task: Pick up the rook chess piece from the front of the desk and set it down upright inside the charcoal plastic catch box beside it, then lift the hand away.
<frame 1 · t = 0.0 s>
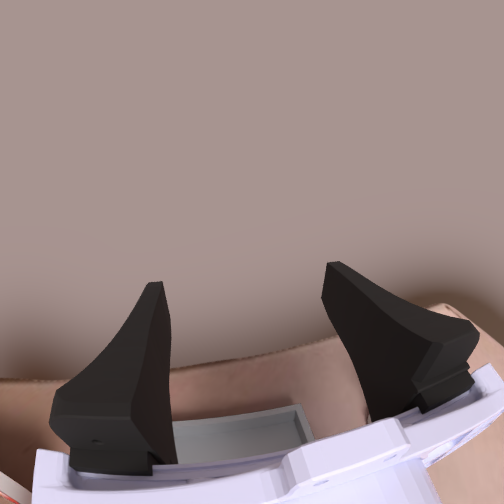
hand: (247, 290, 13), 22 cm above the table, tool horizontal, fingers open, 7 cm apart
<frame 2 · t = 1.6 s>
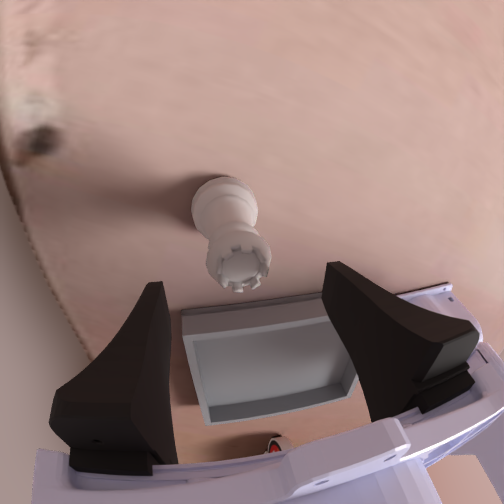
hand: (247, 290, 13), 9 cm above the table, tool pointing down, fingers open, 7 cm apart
sign: (267, 451, 47), on the table
rook chess piece: (222, 204, 21), on the table
catch box: (279, 355, 31), on the table
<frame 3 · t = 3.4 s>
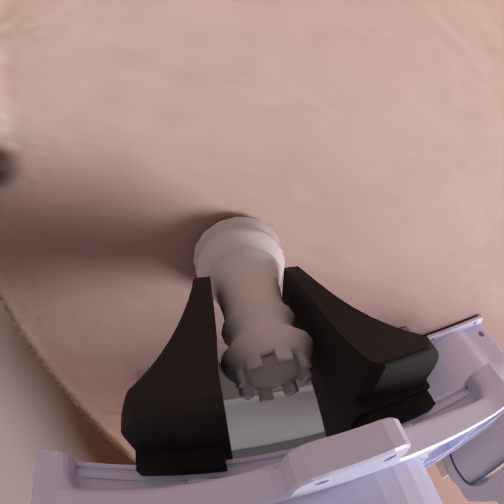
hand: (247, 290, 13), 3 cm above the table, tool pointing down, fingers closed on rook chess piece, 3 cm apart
rook chess piece: (235, 250, 16), on the table, touching gripper
skincare box: (433, 440, 58), on the table
catch box: (296, 403, 26), on the table
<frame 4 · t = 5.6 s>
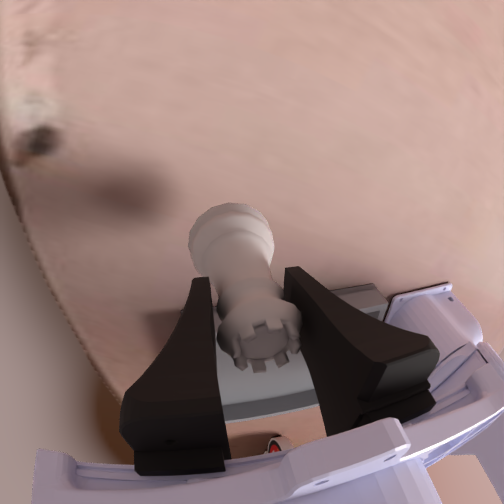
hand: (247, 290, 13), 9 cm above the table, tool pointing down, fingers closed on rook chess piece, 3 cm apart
sign: (267, 451, 47), on the table
rook chess piece: (228, 234, 17), point 5 cm above the table, touching gripper
catch box: (279, 355, 31), on the table
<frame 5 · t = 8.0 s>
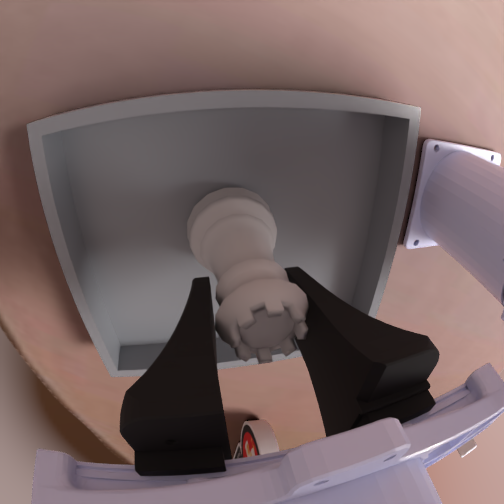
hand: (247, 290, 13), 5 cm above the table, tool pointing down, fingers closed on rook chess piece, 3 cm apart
sign: (242, 443, 33), on the table
rook chess piece: (228, 222, 16), point 1 cm above the table, touching catch box, gripper
skincare box: (446, 411, 50), on the table
catch box: (232, 235, 17), on the table
when the fingers open (5 cm above the table, at t = 8.6 s): rook chess piece stays where it is, resting on catch box.
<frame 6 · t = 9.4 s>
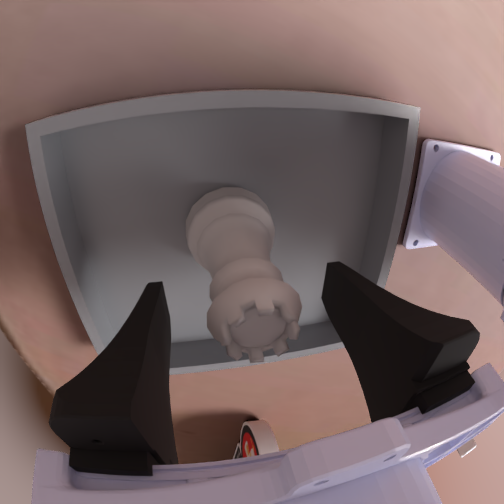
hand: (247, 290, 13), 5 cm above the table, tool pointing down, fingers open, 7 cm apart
sign: (242, 444, 33), on the table
rook chess piece: (227, 222, 16), point 1 cm above the table, touching catch box
skincare box: (446, 411, 50), on the table
catch box: (231, 235, 17), on the table
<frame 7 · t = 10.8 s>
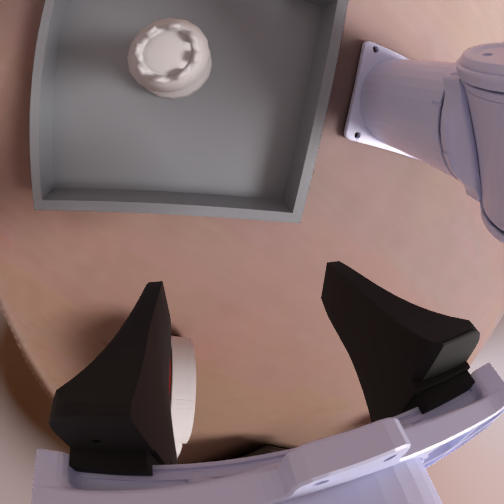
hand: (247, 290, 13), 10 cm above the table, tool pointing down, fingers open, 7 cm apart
sign: (166, 381, 32), on the table
rook chess piece: (175, 65, 16), point 1 cm above the table, touching catch box
catch box: (177, 82, 17), on the table
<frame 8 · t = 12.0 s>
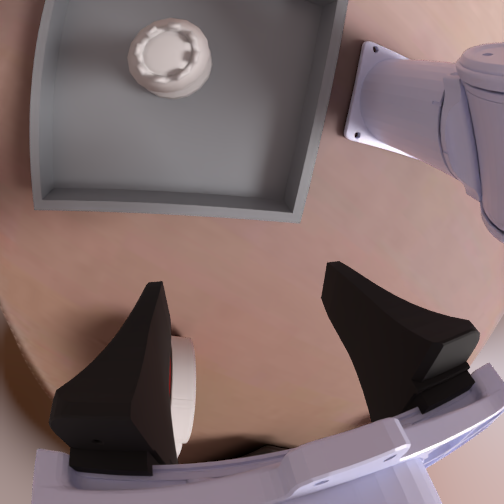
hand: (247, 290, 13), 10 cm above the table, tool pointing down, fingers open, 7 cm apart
sign: (166, 381, 32), on the table
rook chess piece: (175, 65, 16), point 1 cm above the table, touching catch box
catch box: (177, 82, 17), on the table
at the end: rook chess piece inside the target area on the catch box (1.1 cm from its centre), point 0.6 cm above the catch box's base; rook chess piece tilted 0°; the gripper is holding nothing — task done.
